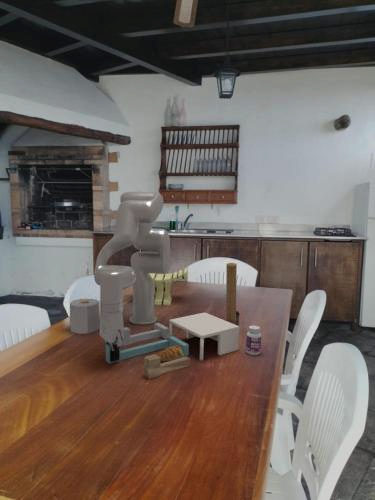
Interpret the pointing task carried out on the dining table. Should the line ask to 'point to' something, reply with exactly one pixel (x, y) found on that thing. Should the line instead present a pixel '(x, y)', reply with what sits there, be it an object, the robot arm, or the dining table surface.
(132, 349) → the blue-grey long flat part
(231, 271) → the hammer
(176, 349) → the pastry
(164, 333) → the tee stick
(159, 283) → the slatted curved stool
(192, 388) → the dining table surface
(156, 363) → the brown angular wooden piece
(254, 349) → the pill bottle
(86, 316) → the toilet paper roll
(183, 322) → the desk
